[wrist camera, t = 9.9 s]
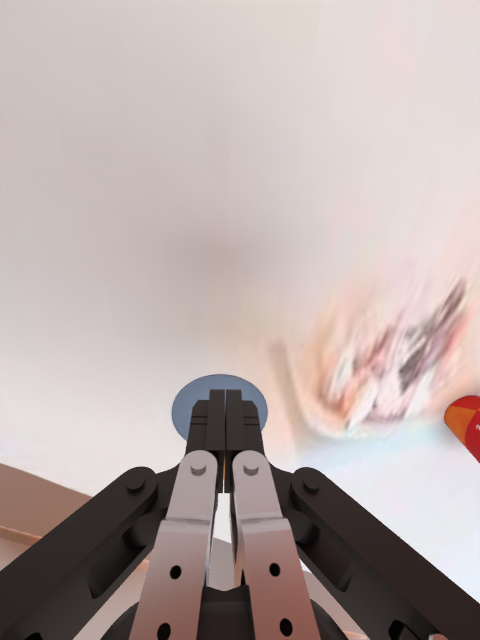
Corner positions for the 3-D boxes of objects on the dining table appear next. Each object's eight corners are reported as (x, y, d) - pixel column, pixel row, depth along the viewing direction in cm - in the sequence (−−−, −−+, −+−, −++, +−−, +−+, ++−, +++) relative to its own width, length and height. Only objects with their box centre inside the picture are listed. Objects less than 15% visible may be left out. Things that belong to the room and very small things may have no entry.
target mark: (151, 406, 34) (151, 407, 34) (232, 357, 32) (232, 358, 32) (209, 462, 39) (209, 463, 38) (284, 422, 36) (284, 423, 36)
